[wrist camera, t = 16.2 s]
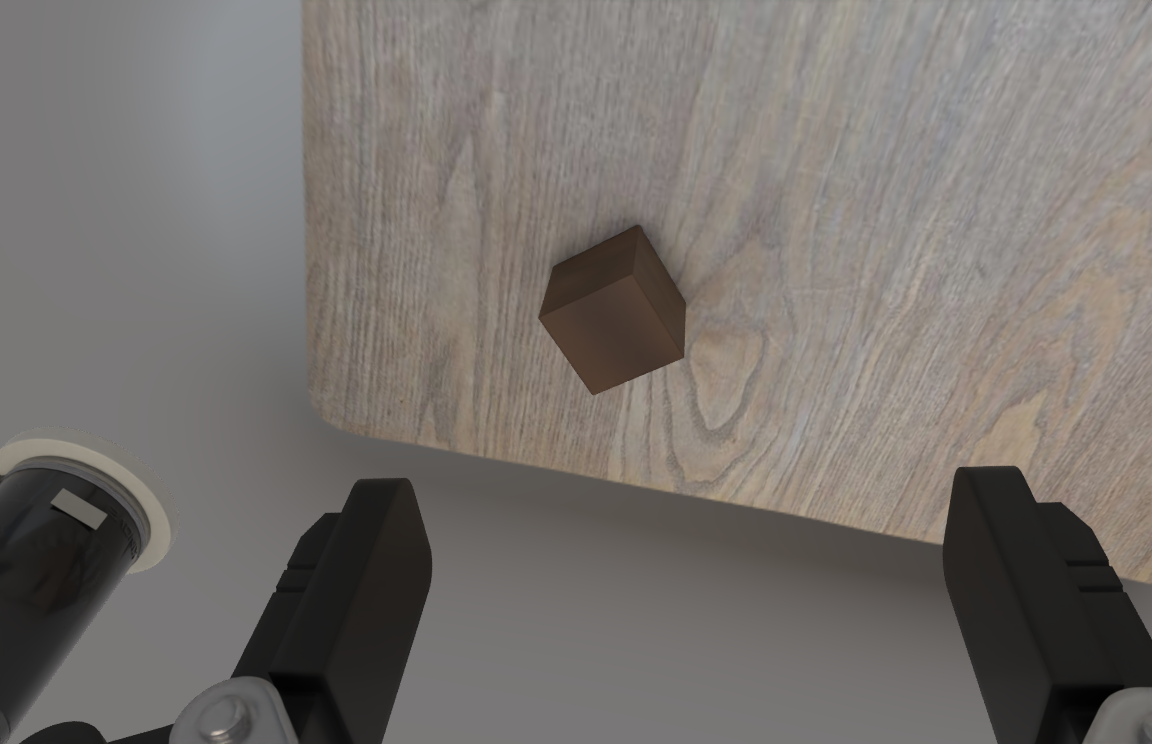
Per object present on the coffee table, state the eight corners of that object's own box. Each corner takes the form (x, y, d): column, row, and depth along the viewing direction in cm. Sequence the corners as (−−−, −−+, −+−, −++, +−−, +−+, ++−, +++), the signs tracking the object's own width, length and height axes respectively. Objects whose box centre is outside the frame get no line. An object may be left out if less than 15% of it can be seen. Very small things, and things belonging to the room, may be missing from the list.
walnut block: (602, 340, 47) (592, 396, 42) (552, 266, 44) (537, 317, 40) (686, 303, 45) (684, 357, 41) (639, 224, 42) (632, 273, 38)
